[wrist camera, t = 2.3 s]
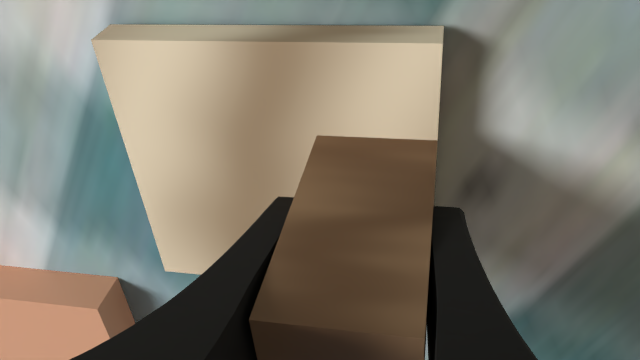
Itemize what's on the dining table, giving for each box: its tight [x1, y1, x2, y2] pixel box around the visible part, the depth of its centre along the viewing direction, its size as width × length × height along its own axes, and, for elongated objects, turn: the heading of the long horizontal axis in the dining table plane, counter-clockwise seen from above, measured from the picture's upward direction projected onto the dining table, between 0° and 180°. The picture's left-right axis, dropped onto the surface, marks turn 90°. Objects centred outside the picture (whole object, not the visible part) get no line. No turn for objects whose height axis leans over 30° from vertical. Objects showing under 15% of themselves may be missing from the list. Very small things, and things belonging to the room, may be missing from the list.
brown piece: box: [91, 24, 444, 360], centre depth 14 cm, size 8×8×7 cm
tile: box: [0, 265, 135, 360], centre depth 24 cm, size 6×6×2 cm
